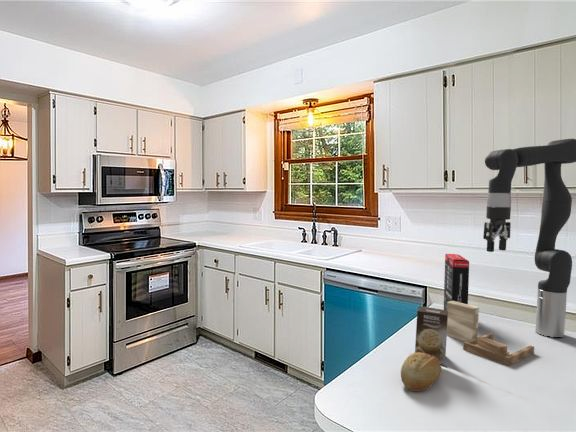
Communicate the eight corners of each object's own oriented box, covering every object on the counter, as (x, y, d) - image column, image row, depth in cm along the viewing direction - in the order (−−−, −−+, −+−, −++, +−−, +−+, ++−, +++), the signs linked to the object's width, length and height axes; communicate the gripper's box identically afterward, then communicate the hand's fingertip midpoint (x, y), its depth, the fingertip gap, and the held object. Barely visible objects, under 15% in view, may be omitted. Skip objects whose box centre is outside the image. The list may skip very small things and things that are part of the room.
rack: (489, 342, 135) (490, 333, 134) (533, 357, 123) (534, 346, 123) (462, 352, 125) (463, 342, 125) (508, 369, 113) (508, 358, 113)
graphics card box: (468, 326, 152) (471, 259, 151) (450, 324, 153) (453, 258, 152) (457, 314, 169) (460, 254, 167) (441, 312, 170) (444, 253, 169)
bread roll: (446, 378, 106) (448, 351, 106) (430, 400, 95) (432, 369, 94) (413, 368, 112) (414, 342, 112) (394, 387, 100) (395, 358, 100)
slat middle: (480, 348, 125) (480, 342, 125) (508, 358, 118) (509, 351, 118) (474, 350, 123) (474, 344, 123) (502, 360, 116) (503, 354, 116)
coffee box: (413, 360, 117) (415, 310, 117) (415, 353, 123) (418, 305, 122) (445, 367, 114) (447, 315, 113) (446, 359, 119) (448, 309, 119)
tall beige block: (450, 334, 140) (452, 300, 140) (477, 343, 132) (478, 307, 132) (445, 336, 138) (447, 301, 138) (471, 345, 130) (473, 308, 130)
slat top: (484, 342, 125) (484, 336, 125) (506, 352, 118) (507, 345, 117) (477, 344, 123) (477, 338, 123) (499, 353, 116) (499, 347, 116)
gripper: (498, 205, 141) (495, 248, 142) (477, 205, 133) (475, 250, 134) (519, 206, 135) (516, 251, 135) (499, 206, 127) (497, 253, 127)
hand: (496, 250), depth 135 cm, fingers open, 8 cm apart
